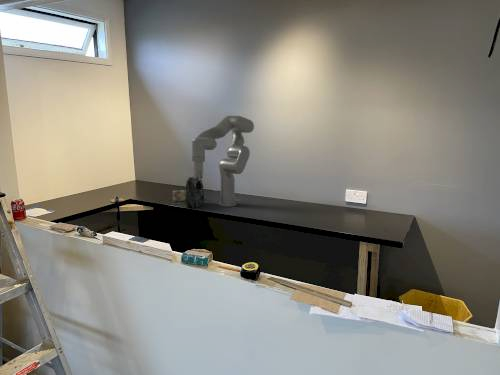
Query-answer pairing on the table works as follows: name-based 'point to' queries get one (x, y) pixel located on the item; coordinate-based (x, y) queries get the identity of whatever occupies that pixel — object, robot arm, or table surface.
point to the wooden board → (179, 195)
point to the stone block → (193, 193)
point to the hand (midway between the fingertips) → (198, 188)
